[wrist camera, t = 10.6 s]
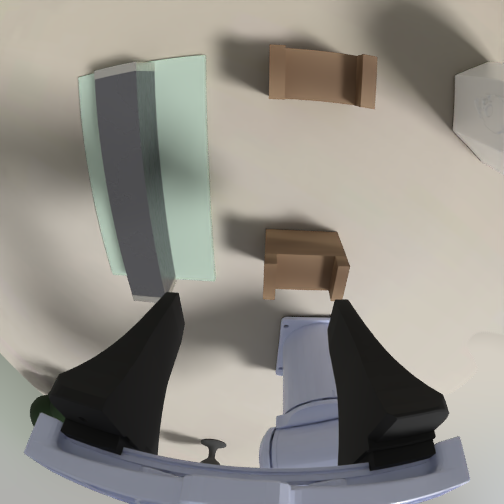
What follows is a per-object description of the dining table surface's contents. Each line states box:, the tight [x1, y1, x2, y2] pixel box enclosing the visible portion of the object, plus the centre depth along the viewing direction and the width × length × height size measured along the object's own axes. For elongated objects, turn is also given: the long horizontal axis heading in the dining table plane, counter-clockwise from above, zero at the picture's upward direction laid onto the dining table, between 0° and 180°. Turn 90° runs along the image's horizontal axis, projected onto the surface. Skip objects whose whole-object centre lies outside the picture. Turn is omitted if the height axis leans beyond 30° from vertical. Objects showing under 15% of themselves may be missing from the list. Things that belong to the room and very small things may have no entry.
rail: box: [94, 61, 177, 303], centre depth 20 cm, size 18×3×3 cm, turn 0°
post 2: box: [263, 229, 350, 301], centre depth 21 cm, size 3×6×5 cm, turn 90°
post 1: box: [269, 45, 377, 109], centre depth 15 cm, size 3×6×5 cm, turn 90°
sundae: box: [200, 439, 226, 465], centre depth 41 cm, size 7×7×15 cm
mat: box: [78, 55, 216, 281], centre depth 21 cm, size 18×10×1 cm, turn 0°
